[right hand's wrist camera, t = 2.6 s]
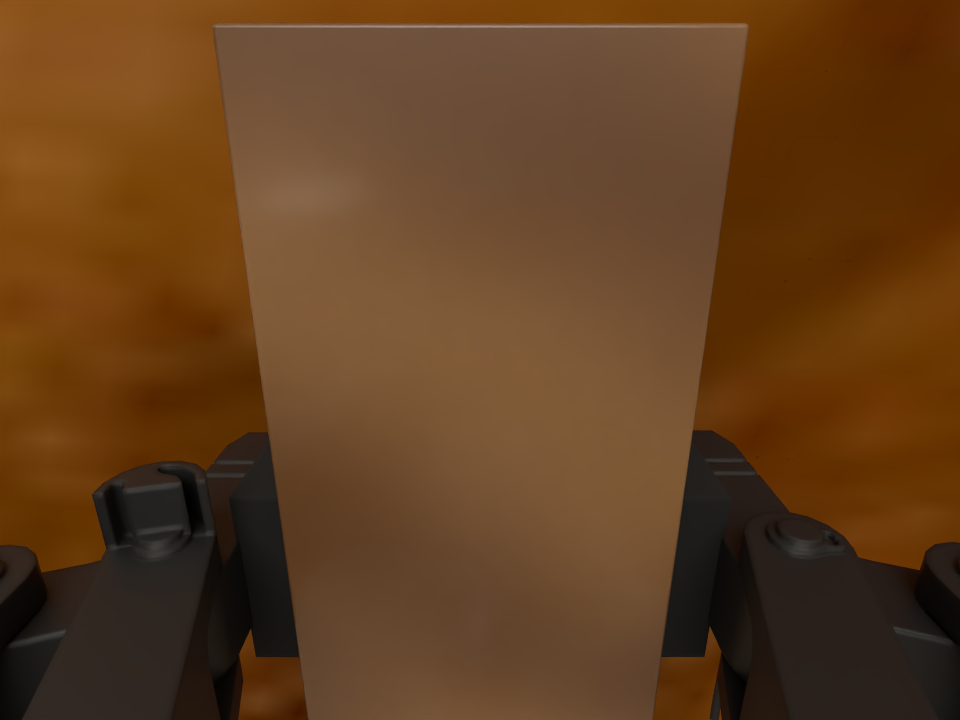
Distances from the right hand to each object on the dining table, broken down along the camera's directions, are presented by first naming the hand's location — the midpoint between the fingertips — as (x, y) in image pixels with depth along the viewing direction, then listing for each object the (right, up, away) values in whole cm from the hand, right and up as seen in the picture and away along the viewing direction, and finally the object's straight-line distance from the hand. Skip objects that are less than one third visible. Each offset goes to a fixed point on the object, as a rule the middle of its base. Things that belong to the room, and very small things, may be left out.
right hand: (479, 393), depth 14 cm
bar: (0, -20, +8) cm, 22 cm away
